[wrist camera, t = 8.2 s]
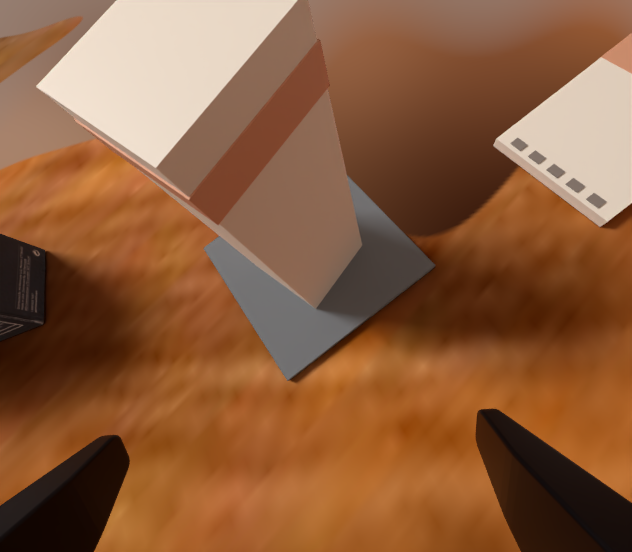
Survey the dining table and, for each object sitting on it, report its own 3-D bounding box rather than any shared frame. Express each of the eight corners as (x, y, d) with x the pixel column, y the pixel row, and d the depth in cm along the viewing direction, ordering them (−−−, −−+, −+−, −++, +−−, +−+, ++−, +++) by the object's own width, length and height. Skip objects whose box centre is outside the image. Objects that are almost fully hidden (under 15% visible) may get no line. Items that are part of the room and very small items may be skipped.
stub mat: (434, 267, 17) (435, 265, 17) (289, 380, 17) (287, 380, 17) (327, 157, 21) (325, 153, 21) (206, 250, 21) (203, 248, 21)
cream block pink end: (626, 41, 19) (635, 30, 18) (754, 107, 16) (769, 95, 16) (492, 145, 19) (496, 137, 18) (600, 227, 16) (608, 221, 16)
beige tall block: (363, 244, 18) (309, -11, 6) (315, 310, 18) (155, 171, 6) (302, 208, 20) (163, -52, 8) (256, 267, 19) (33, 87, 7)
